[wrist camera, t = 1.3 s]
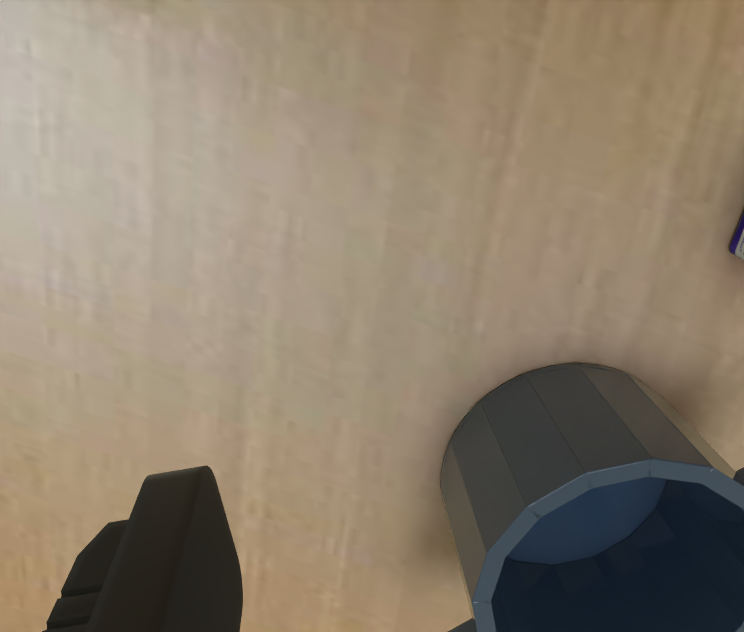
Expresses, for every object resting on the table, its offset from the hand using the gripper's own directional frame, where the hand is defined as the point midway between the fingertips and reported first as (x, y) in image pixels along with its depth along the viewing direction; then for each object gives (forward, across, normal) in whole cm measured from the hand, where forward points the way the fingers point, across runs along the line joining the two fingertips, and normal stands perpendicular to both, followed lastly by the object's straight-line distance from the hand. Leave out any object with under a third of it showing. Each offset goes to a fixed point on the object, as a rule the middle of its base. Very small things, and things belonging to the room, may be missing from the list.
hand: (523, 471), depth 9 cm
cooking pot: (+22, -7, +17) cm, 28 cm away
